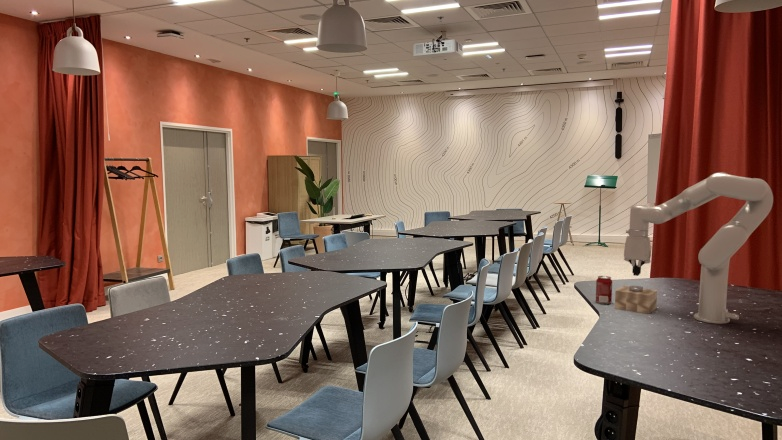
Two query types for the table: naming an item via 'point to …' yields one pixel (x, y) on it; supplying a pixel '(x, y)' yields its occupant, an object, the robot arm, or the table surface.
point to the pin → (636, 288)
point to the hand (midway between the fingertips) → (636, 275)
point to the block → (636, 300)
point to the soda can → (604, 290)
